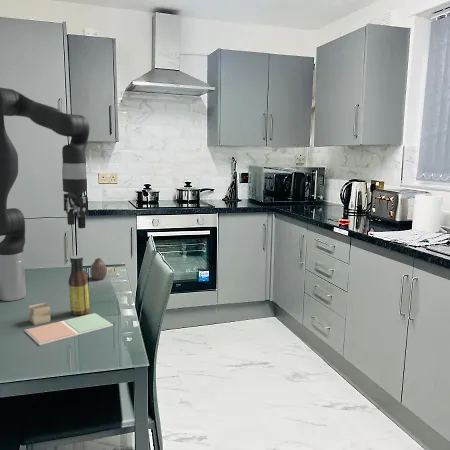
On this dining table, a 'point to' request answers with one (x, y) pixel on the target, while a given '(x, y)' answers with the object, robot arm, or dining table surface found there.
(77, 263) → the sauce bottle
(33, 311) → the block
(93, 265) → the brown rounded lump
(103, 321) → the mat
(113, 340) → the dining table surface
